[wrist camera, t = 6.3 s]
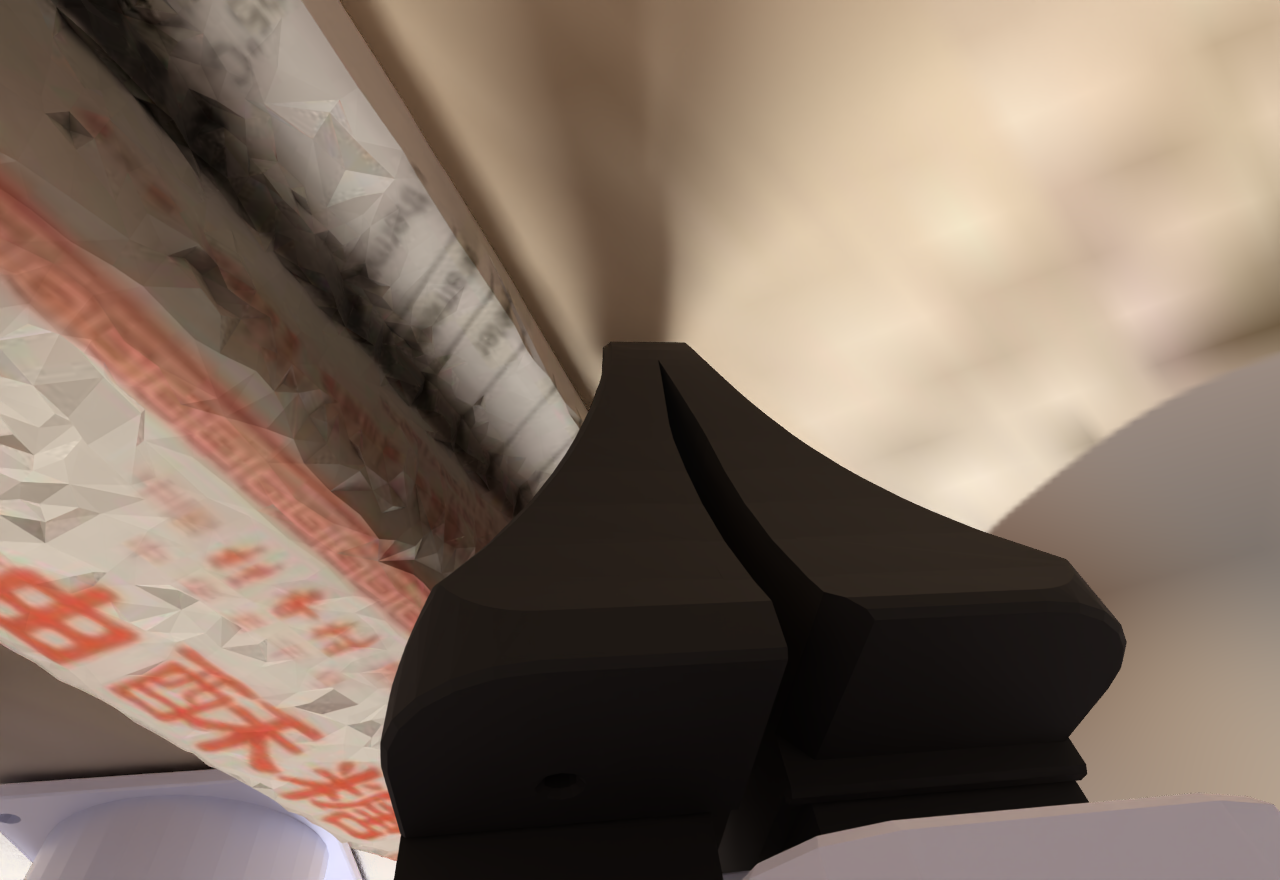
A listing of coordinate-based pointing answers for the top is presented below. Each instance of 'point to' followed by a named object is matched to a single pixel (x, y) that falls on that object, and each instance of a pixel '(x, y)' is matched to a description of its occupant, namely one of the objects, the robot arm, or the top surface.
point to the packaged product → (245, 383)
